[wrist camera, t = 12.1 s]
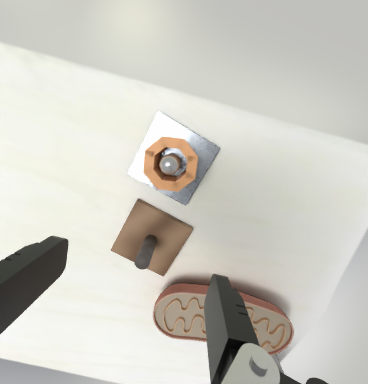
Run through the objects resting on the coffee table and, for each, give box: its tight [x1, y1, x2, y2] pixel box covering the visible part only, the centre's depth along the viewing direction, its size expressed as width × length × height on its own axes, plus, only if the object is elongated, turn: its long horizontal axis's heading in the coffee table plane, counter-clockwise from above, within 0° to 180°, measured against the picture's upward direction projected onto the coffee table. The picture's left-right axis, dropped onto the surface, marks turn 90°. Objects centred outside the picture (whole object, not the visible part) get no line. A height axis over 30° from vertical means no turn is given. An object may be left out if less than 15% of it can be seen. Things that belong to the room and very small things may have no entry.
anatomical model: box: [153, 283, 294, 356], centre depth 32 cm, size 23×10×5 cm, turn 76°
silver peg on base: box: [128, 111, 220, 206], centre depth 25 cm, size 10×10×7 cm
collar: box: [143, 136, 198, 192], centre depth 25 cm, size 6×6×5 cm
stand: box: [111, 199, 193, 276], centre depth 28 cm, size 10×10×7 cm
